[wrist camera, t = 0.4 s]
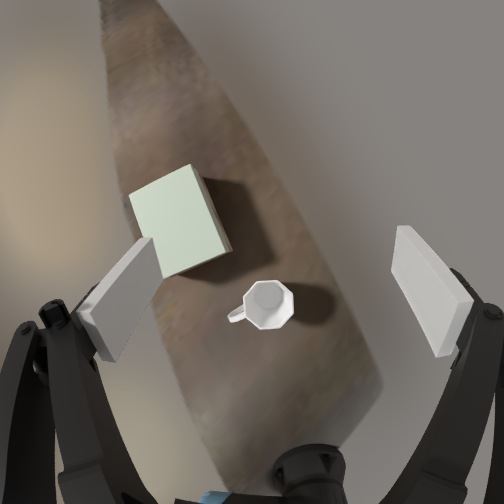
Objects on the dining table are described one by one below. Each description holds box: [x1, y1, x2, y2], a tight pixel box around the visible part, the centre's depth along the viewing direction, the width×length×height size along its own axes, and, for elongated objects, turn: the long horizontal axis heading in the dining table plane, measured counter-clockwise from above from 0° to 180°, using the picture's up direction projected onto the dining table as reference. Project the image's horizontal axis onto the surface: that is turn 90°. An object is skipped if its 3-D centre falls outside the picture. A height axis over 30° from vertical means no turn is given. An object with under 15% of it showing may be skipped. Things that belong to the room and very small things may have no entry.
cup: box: [228, 280, 294, 329], centre depth 41 cm, size 7×10×8 cm
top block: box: [129, 164, 230, 279], centre depth 40 cm, size 13×10×4 cm
